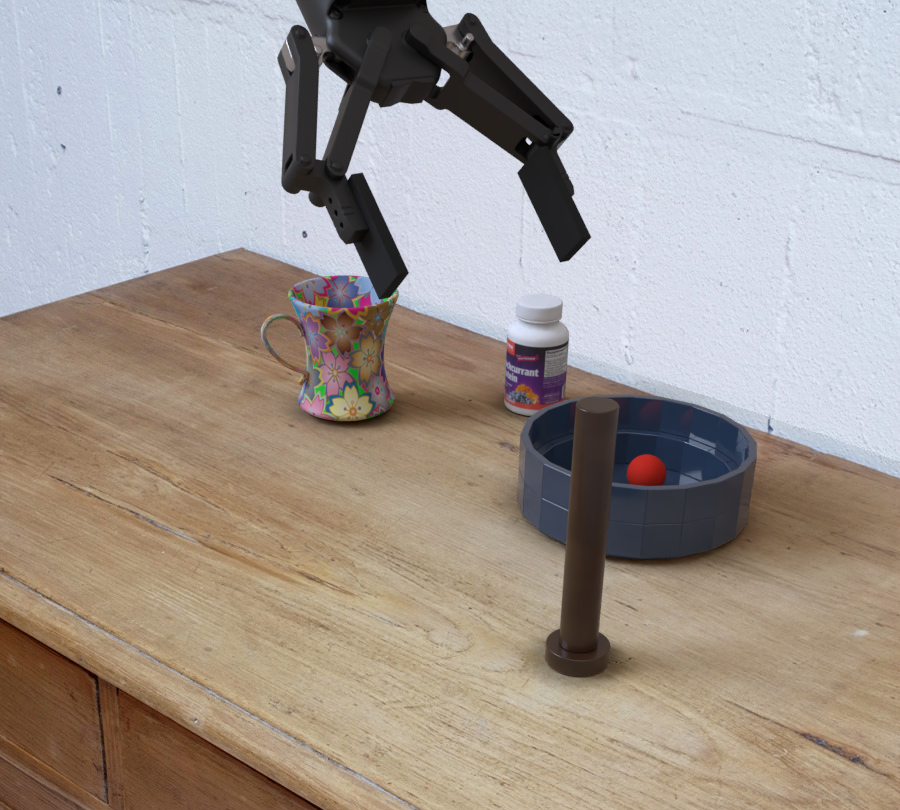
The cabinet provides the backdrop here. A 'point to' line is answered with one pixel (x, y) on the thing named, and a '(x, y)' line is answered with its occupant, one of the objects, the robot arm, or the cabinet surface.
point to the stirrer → (586, 542)
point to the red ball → (646, 471)
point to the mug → (340, 346)
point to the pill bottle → (536, 355)
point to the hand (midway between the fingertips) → (489, 268)
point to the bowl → (646, 507)
